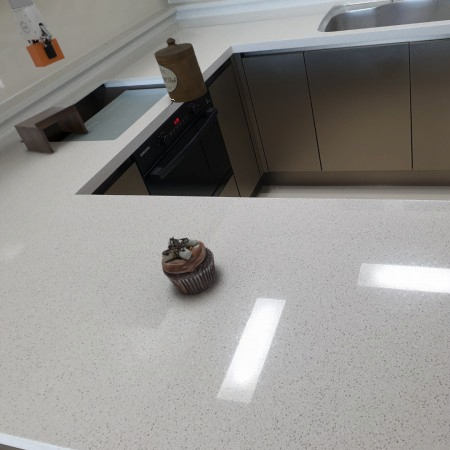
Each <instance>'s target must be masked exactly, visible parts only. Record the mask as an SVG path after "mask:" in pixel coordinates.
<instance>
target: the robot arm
mask: <svg viewBox="0 0 450 450" xmlns="http://www.w3.org/2000/svg"><path fill="white" fill-rule="evenodd" d="M6 3H7V4H8V7H9V8H10V10H11V14H12V17H13V20H14V22H15V25H16V27H17V29H18V31H19V33H20V35H21V37H22V39H23V40H25V41H27V42H28V43H29V45H32V44H35V43H37V42H40V41H41V43H42V44H43V46H44V50H45V52H46V54H47V56H48V58H49V59H52V58H55V57H57V54H56V52H55V50H54V48H53V46H52V45H53V44H52V38H53V35H52V33H51V32H50V30H49V27H48V26H47V24H46V21H45V20H44V17H43V16H42V14H41V12H40V11H39V9H38V8H37V6H36V3H35V2H34V0H6ZM44 40H45V41H44Z"/></svg>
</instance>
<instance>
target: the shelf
mask: <svg viewBox="0 0 450 450" xmlns="http://www.w3.org/2000/svg"><path fill="white" fill-rule="evenodd" d="M56 123H57V124H58V126H59V128H60V130H61V132H63V133H74V134H82V135H83V134H84V135H86V134H88V133H89V131H88V128H87V127H86V125H85V123H84V121H83V119H82V117H81V115H80V113H79V111H78V109H77V106H76V104H75V103H72V104H69V105H68V106H50V107H48V108H47V109H45V110H43V111H41V112H38V113H37V114H35V115H32V116H30V117H28V118H27V119H25V120H22V121H21V122H18V123H17V124H15V125H13V127H14V129H15V130H16V132H17V134H18V135H19V137H20V139H21V141H22V142H23V144H24V146H25V147H26V149H27V151H30V152H37V153H45V154H53V153H55V150H54V149H53V147H52V145H51V143H50V141H49V139H48V138H47V135H46V134H45V132H44V129H47V128H48V127H50V126H52V125H55V124H56Z"/></svg>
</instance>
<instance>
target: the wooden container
mask: <svg viewBox="0 0 450 450" xmlns="http://www.w3.org/2000/svg"><path fill="white" fill-rule="evenodd" d="M165 43H166V44H167V46H166V47H163V48H160V49H159V50H157V51H155V52H154V54H153V55H154V58H155V60H156V63H157V66H158V68H159V71H160V74H161V77H162V80H163V84H164V86H165V88H166V91H167V94H168V97H169V99H170V98H171V99H174V100H175V101H174V100H171V99H170V101H171V103H176V104H180V103H181V104H182V103H187V102H192V101H194V100H197V99H199V98H201V97H203V96H204V95H206V93H207V92H208V87H207V85H206V83H205V79H204V76H203V73H202V70H201V67H200V64H199V61H198V58H197V55H196V52H195V48H194V46H193V44H192V43H190V42H182V43H176V39H175V38H173V37H169V38H167V39H166V41H165Z"/></svg>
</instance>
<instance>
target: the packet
mask: <svg viewBox="0 0 450 450" xmlns="http://www.w3.org/2000/svg"><path fill="white" fill-rule="evenodd" d="M43 40H44V41H45V39H43ZM39 41H40V40H39ZM52 44H53V45H52V46H53V48H54V50H55V52H56V54H57V57H55V58H52V59H49V58H48V56H47V54H46V52H45V50H44V46H43V44H42V43H41V41H40V42H37V43H35V44H32V45H31V44H29V45H27V46H25V49H26V50H27V53H28V55H29V56H30V58H31V61H32V62H33V64H34V66H35V68H45V67H47V66H50V65H52V64H55V63H57V62H60V61H62V60H64V59H66V58H65V54H64V53H63V50H62V48H61V46H60V44H59V41H58V40H57V38H56V37H52Z"/></svg>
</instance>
